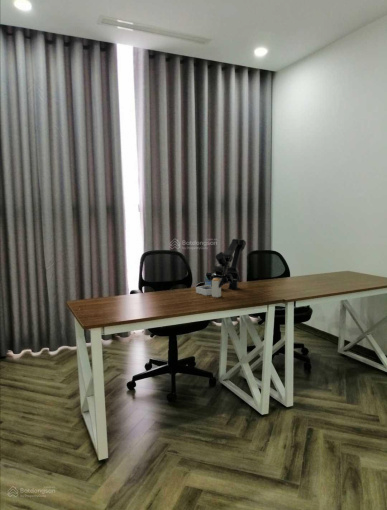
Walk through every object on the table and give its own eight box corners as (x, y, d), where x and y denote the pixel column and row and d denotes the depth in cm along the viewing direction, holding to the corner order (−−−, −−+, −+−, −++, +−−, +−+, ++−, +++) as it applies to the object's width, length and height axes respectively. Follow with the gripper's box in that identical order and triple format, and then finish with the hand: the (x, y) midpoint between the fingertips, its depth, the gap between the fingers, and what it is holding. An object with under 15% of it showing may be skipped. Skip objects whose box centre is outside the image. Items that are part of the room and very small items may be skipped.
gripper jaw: (214, 295, 251) (214, 277, 250) (221, 295, 249) (221, 278, 247) (211, 296, 247) (211, 279, 245) (218, 297, 244) (218, 279, 243)
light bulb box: (204, 288, 273) (204, 274, 272) (208, 287, 279) (208, 273, 278) (218, 290, 268) (217, 275, 267) (221, 288, 274) (221, 274, 273)
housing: (209, 290, 267) (209, 284, 266) (219, 293, 257) (219, 287, 256) (196, 292, 260) (195, 287, 259) (206, 295, 250) (205, 289, 250)
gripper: (206, 260, 253) (199, 278, 245) (231, 262, 244) (224, 281, 236) (212, 270, 261) (204, 288, 253) (236, 272, 251) (229, 291, 243)
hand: (215, 287), depth 246 cm, fingers open, 5 cm apart
